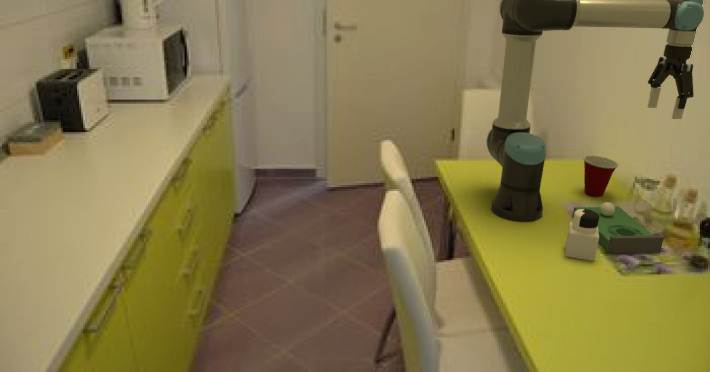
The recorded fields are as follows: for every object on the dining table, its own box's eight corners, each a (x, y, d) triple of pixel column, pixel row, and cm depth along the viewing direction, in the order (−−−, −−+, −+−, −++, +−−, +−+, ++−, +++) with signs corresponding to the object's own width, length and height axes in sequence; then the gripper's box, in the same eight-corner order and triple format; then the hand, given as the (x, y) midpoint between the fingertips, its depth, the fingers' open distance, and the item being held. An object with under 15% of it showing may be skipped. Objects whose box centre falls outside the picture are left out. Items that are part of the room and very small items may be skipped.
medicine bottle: (593, 249, 154) (601, 208, 150) (594, 261, 148) (603, 219, 143) (565, 244, 156) (572, 204, 152) (565, 256, 150) (572, 215, 145)
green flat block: (609, 253, 152) (612, 238, 150) (572, 216, 174) (574, 202, 172) (660, 252, 153) (663, 237, 152) (617, 215, 175) (619, 202, 173)
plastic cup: (613, 202, 184) (621, 167, 180) (578, 198, 187) (584, 163, 183) (610, 190, 194) (617, 156, 189) (576, 186, 197) (582, 153, 192)
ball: (602, 218, 165) (605, 205, 164) (596, 212, 169) (598, 200, 168) (616, 218, 166) (618, 205, 164) (609, 212, 169) (611, 200, 168)
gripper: (718, 51, 162) (700, 123, 170) (667, 39, 185) (653, 103, 193) (693, 50, 162) (675, 123, 170) (645, 38, 185) (631, 103, 193)
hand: (663, 113), depth 181 cm, fingers open, 13 cm apart
